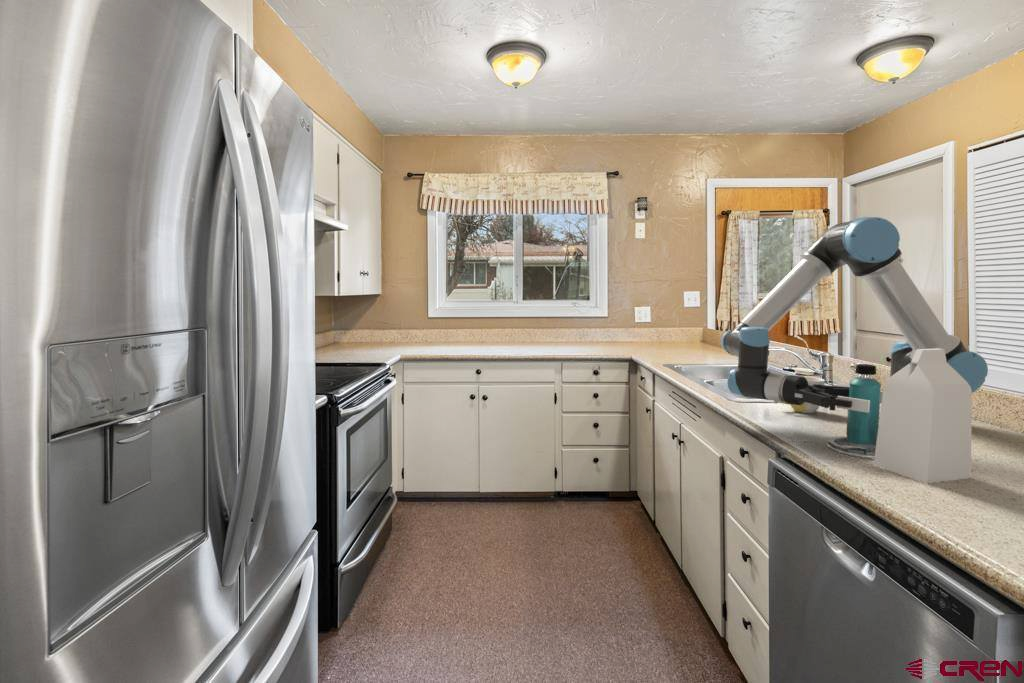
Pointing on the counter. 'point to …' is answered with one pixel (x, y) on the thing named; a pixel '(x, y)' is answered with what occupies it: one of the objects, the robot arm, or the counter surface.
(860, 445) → the grey round plate
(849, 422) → the beverage bottle
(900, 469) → the milk
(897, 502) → the counter surface
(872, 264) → the robot arm
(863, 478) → the counter surface
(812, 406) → the mug
